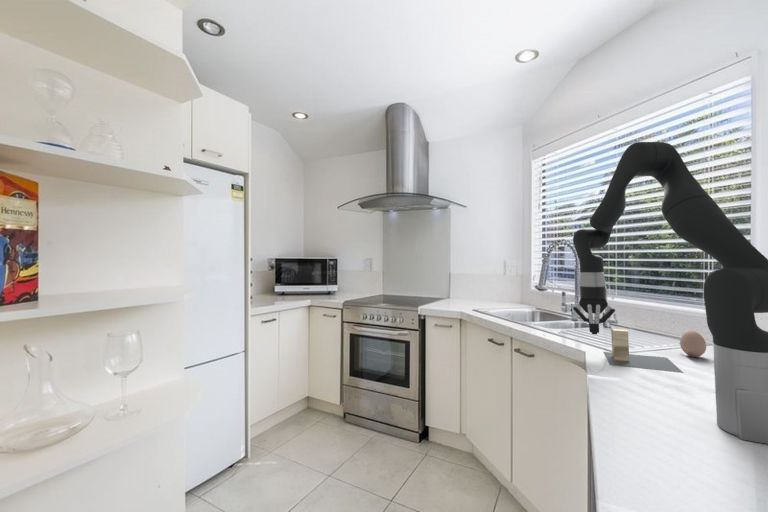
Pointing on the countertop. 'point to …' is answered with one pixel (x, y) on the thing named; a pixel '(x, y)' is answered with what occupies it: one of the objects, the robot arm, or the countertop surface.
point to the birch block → (620, 344)
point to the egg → (693, 343)
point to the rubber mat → (645, 362)
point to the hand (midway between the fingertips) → (594, 333)
